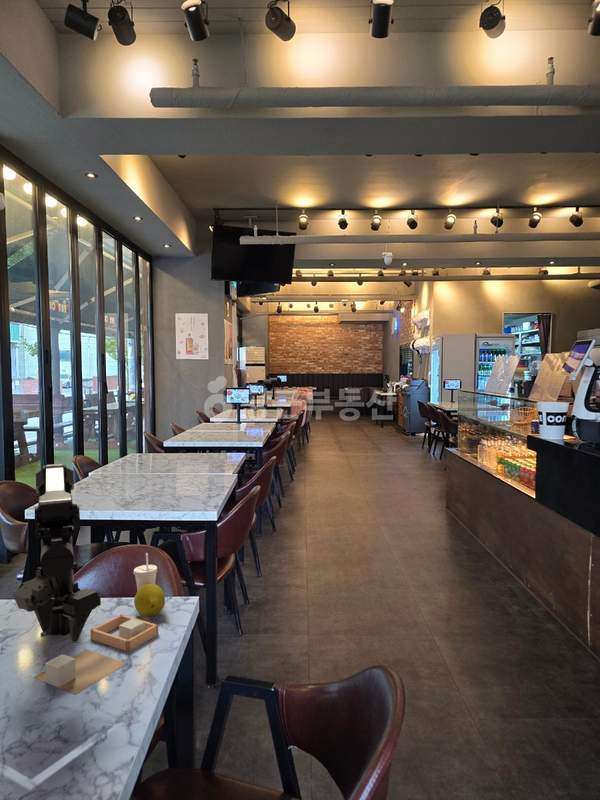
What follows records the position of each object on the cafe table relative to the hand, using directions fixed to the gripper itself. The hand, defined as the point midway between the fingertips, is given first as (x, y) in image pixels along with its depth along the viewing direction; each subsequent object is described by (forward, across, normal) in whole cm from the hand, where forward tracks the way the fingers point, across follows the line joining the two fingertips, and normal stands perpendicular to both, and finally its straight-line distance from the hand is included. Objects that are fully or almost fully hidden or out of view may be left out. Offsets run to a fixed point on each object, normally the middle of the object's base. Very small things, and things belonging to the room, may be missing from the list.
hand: (59, 636), depth 110 cm
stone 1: (+9, 0, 0) cm, 9 cm away
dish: (+10, -3, +19) cm, 22 cm away
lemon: (+10, -8, +32) cm, 35 cm away
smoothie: (+10, -14, +38) cm, 42 cm away
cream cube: (+10, 0, +19) cm, 22 cm away
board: (+10, 0, +4) cm, 11 cm away
